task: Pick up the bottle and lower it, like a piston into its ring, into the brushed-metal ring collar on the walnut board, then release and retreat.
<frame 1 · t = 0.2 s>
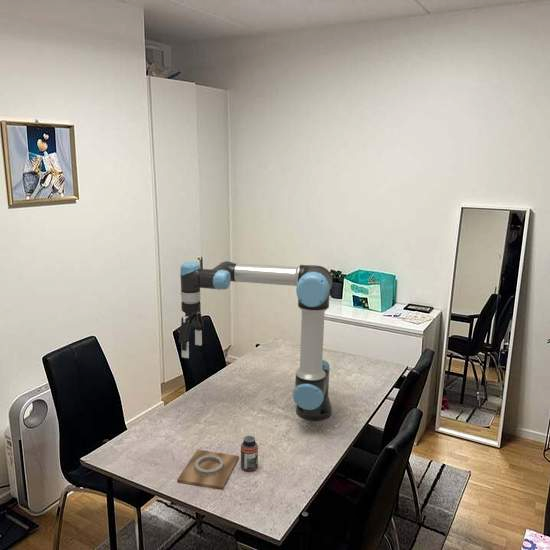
hand: (192, 351, 209), 28 cm above the table, fingers open, 13 cm apart
supplement bottle: (249, 467, 180), on the table
ring board: (209, 469, 178), on the table
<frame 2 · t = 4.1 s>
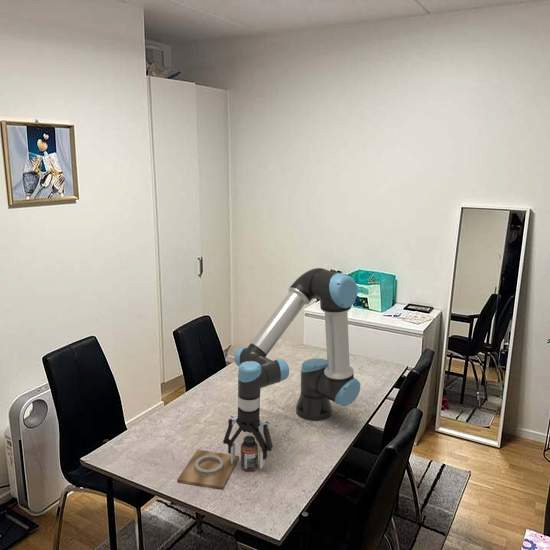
hand: (247, 463, 180), 1 cm above the table, fingers open, 10 cm apart
nothing on the table moved.
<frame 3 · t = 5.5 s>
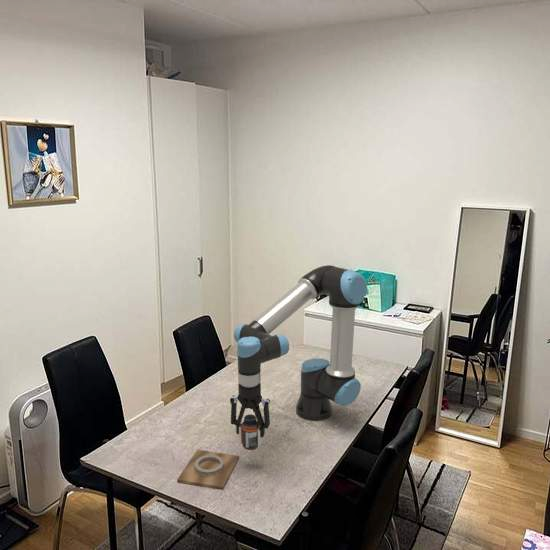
hand: (250, 443, 178), 9 cm above the table, fingers closed on supplement bottle, 6 cm apart
supplement bottle: (250, 446, 179), point 8 cm above the table, touching gripper
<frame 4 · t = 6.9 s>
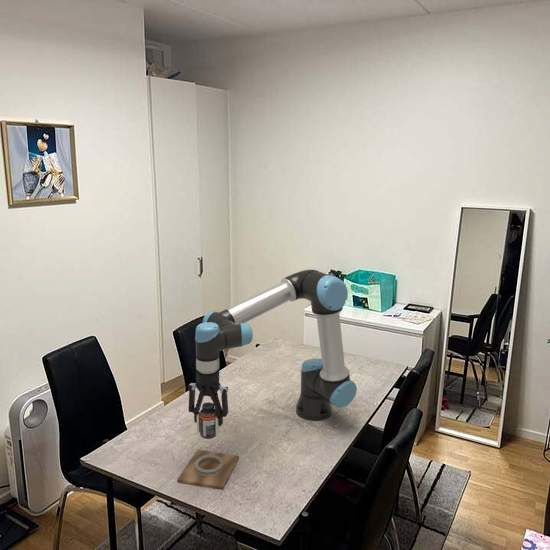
hand: (208, 432, 175), 15 cm above the table, fingers closed on supplement bottle, 6 cm apart
supplement bottle: (208, 435, 175), point 13 cm above the table, touching gripper
when the fingers open (4 cm above the table, at t = 8.8 s): supplement bottle drops 2 cm, resting on ring board.
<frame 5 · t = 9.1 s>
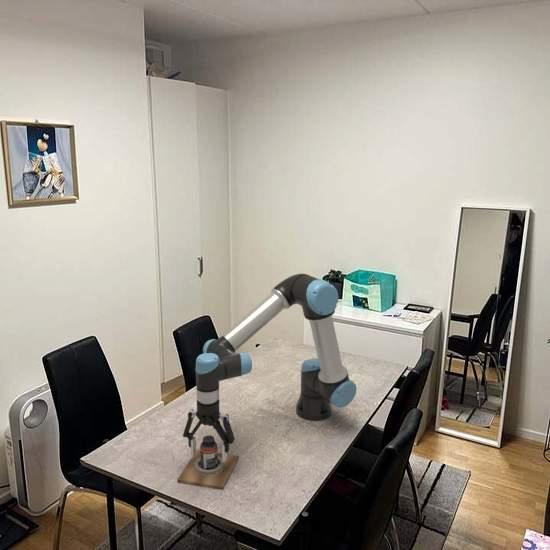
hand: (209, 457, 177), 5 cm above the table, fingers open, 10 cm apart
supplement bottle: (209, 467, 178), point 1 cm above the table, touching ring board
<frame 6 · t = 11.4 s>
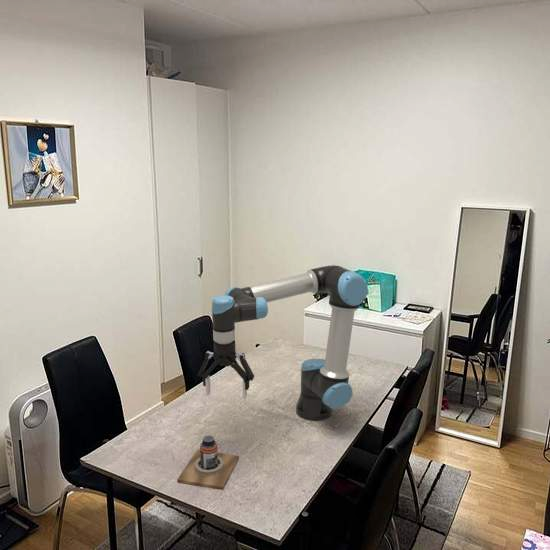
hand: (226, 395, 183), 23 cm above the table, fingers open, 13 cm apart
nothing on the table moved.
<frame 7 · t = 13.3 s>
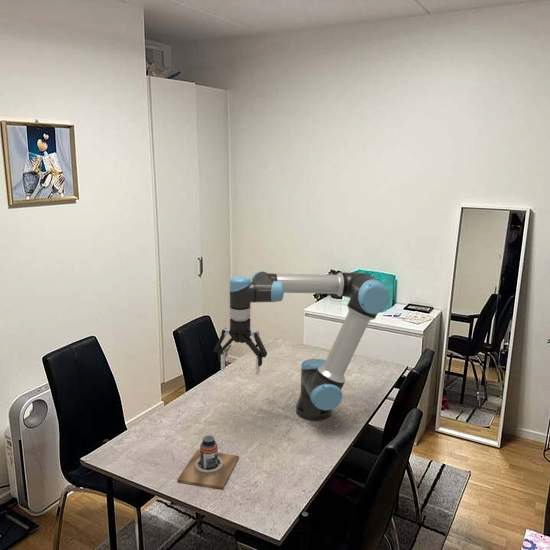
hand: (240, 371, 193), 27 cm above the table, fingers open, 13 cm apart
nothing on the table moved.
at the end: supplement bottle 0.1 cm from the ring board (horizontally); supplement bottle tilted 0°; the gripper is holding nothing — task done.
